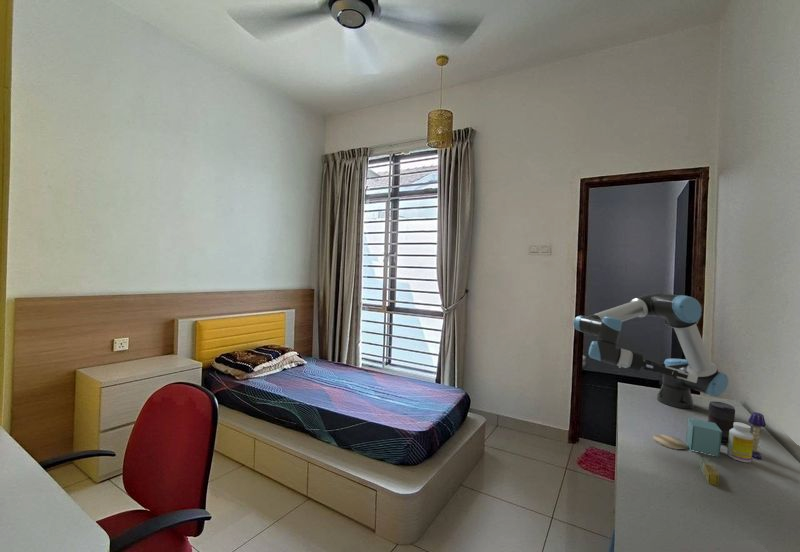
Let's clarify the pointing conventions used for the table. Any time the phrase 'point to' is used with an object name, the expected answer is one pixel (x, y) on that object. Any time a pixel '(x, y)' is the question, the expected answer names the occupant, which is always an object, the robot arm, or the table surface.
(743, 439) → the supplement bottle
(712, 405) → the camera lens
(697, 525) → the table surface
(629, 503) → the table surface
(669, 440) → the coaster
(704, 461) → the medication box
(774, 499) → the table surface
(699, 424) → the teal cube
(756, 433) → the toy lamp
